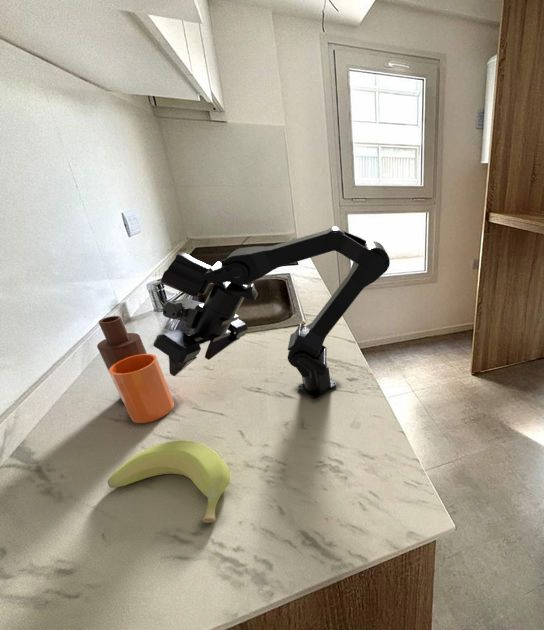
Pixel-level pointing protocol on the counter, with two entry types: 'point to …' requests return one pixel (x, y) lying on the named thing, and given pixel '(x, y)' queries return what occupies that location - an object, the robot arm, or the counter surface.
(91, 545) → the counter surface
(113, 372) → the orange plastic tumbler
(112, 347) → the sauce bottle
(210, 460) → the banana
